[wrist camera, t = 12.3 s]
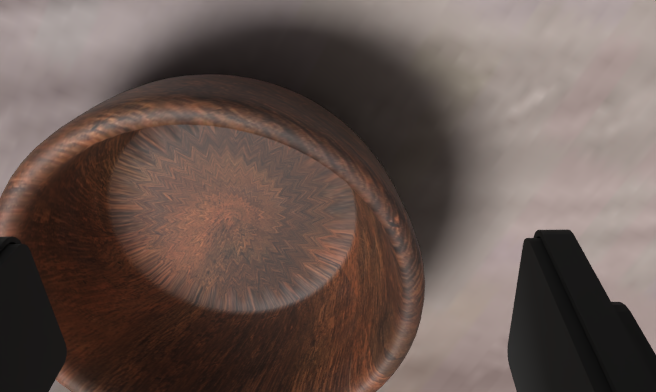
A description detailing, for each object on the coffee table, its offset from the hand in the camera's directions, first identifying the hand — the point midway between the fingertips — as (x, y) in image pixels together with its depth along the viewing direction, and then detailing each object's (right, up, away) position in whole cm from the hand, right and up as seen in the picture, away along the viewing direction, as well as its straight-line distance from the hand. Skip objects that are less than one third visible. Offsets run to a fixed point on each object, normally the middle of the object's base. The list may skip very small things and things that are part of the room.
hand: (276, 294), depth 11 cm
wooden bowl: (-6, +1, +32) cm, 32 cm away
